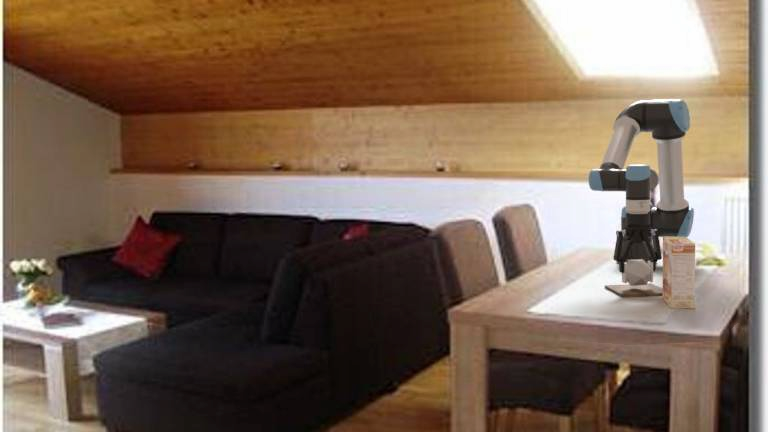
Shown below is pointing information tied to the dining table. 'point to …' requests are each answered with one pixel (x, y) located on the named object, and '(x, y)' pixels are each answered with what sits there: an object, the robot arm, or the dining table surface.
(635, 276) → the die
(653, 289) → the walnut board
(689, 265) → the coffeecake box
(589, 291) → the dining table surface
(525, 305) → the dining table surface
